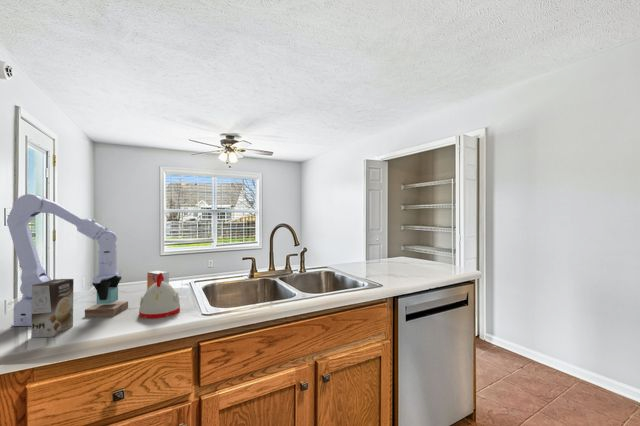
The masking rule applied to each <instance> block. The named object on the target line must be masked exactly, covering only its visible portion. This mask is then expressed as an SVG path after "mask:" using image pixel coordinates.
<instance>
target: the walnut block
mask: <svg viewBox="0 0 640 426" xmlns="http://www.w3.org/2000/svg"><path fill="white" fill-rule="evenodd" d="M127 309H129V301H125V300H123V301H121V300H119V301H118V300H117V301H115V302H113V303H111V304H97V303H95V304H94V305H92V306H90V307H87V308H85V309H84V317H85V318H89V317H92V318H93V317H114V316H117V315H118V314H120V313H122V312H123V311H125V310H127Z"/></svg>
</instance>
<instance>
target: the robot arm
mask: <svg viewBox="0 0 640 426" xmlns="http://www.w3.org/2000/svg"><path fill="white" fill-rule="evenodd" d="M41 213H43V214H51V215H55V216H56V217H59V218H60V219H63V221H66V222H67V223H70V224H72V225H74V226H75V227H76V230H77V232H78V233H80V234H82V235H84V236H86V237H88V238H89V239H91V240H92V241H97V243H98V245H99V246H98V248H99V250H98V266H97V267H98V270H97V271H98V274H97V275H96V276H95V277H93V278H92V279H93V280H92V286H93V287H94V288H95V291H96V294H97V293H98V296H99V299H100V300H107V296H108V289H109V287H119V283H120V281H121V280H122V276H121V270H119V269H118V270H117V267H118V266H117V262H118V261H117V257H118V255H117V254H118V253H117V251H118V250H117V241H118V236H117V233H115V232H114V231H113V230H111V229H109V227H107V226H105V227H104V226H102V225H101V224H100V223H98V222H97V220H96V219H94V218H92V219H91V218H81V217H80V216H79V215H77V214H76V213H74V212H72V211H71V210H69V209H67V208H66V207H64V206H62V205H61V204H59V203H58V202H55V201H53V200H51V199H49V198H48V199H47V198H46V197H45V196H42V195H38V194H36V195H35V194H31V193H30V194H29V193H27V194H23V195H20V196H19V197H18V198H17V199H15V200H14V201H13V202H12V208H11V210H10V212H9V213H8V216H7V219H6V224H7V227H8V230H9V234H10V237H11V240H12V243H13V246H14V250H15V253H16V257H17V259H18V260H17V261H18V263H19V265H20V270H21V275H20V281H21V285H20V289H19V290H20V292H21V293H20V294H22V298H21V299H20V300H19V301H18V302H16V303H15V304H14V307H13V323H12V324H10V327H28V326H31V322H32V285H35V284H38V283H42V282H46V281H50V280H52V278H51V277H50V275H48V274H47V273H46V270H45V268H44V267H43V266H42V264H41V260H40V257H39V254H38V251H37V247H36V244H35V241H34V238H33V237H34V236H33V235H32V230H31V227H30V225H29V223H30V222H31V221H32V220H34V218H35V217H36V216H38V215H39V214H41Z"/></svg>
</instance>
